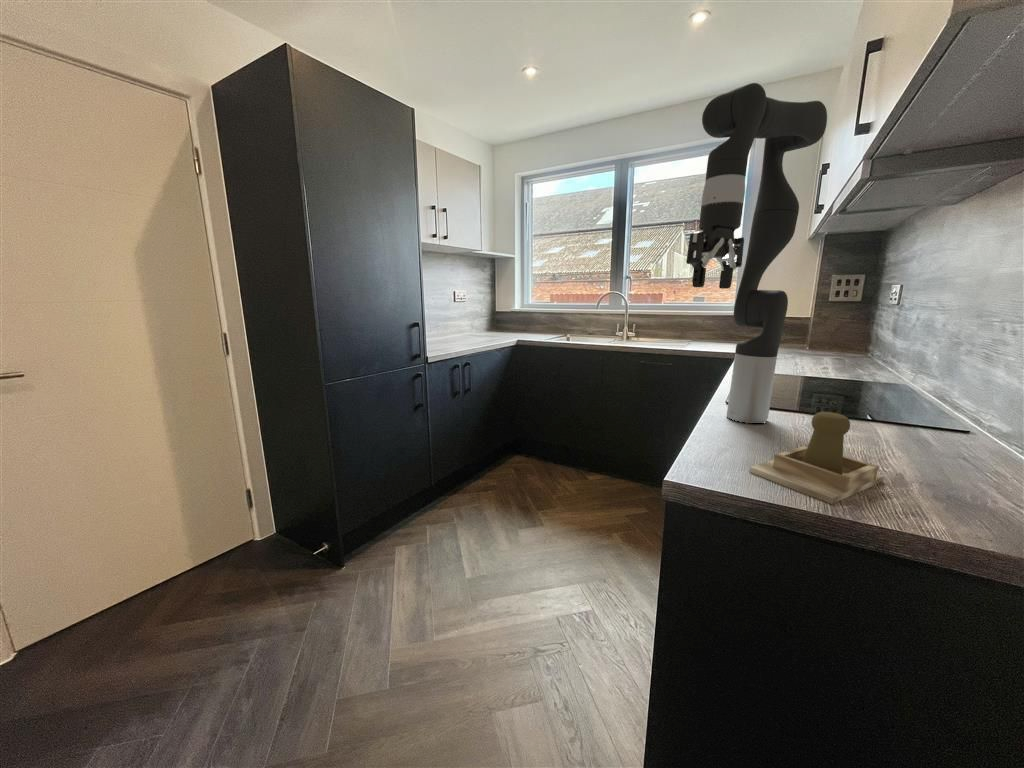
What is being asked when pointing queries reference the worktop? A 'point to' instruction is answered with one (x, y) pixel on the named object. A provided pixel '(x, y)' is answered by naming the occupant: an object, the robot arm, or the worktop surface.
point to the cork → (827, 441)
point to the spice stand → (818, 475)
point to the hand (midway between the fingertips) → (711, 287)
